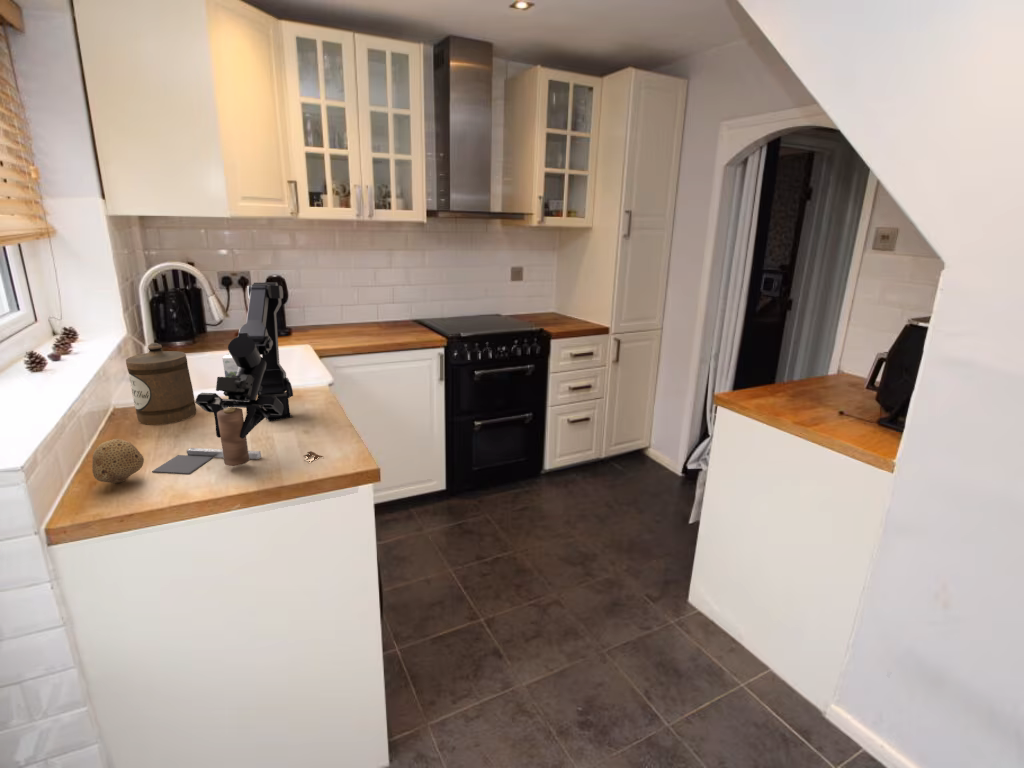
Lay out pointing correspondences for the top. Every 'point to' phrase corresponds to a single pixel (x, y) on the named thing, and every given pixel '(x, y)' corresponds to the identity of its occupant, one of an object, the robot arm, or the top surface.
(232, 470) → the top surface
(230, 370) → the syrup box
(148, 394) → the wooden container
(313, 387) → the top surface
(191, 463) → the grey square plate
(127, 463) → the natural sponge
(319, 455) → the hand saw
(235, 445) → the brown thread spool
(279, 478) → the top surface
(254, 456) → the steel straightedge
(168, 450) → the top surface
